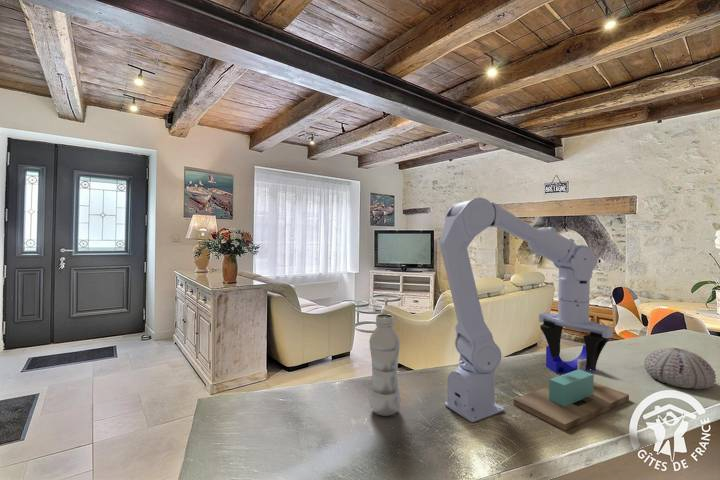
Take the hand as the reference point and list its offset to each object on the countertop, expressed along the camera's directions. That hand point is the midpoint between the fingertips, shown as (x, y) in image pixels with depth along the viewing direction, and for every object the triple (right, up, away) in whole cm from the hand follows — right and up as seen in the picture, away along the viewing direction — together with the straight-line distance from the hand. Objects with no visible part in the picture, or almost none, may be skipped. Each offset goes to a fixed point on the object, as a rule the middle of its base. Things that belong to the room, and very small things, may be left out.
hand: (572, 361), depth 74 cm
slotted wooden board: (0, -9, 0) cm, 9 cm away
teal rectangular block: (0, -8, 0) cm, 8 cm away
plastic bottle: (-41, -9, -3) cm, 42 cm away
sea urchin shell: (+33, -9, +11) cm, 36 cm away
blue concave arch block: (+11, -9, +18) cm, 23 cm away
